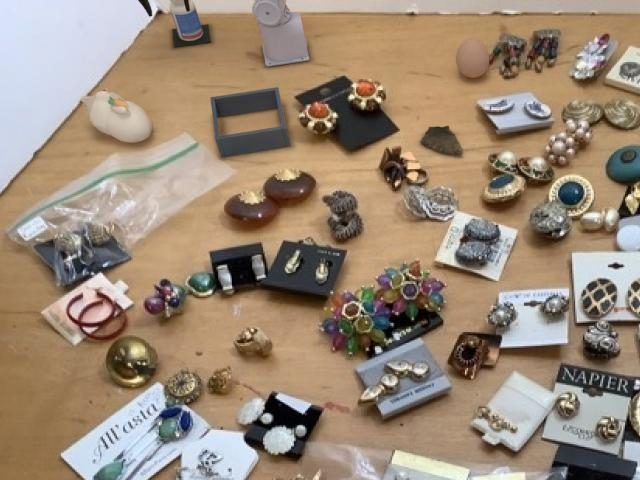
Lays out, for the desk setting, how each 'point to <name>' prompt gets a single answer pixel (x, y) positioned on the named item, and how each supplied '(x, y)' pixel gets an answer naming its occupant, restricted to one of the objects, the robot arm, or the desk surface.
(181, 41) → the pad
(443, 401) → the desk surface
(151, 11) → the robot arm
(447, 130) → the arrowhead
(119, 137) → the cat figurine
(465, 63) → the egg
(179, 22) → the pill bottle
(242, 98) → the open box
